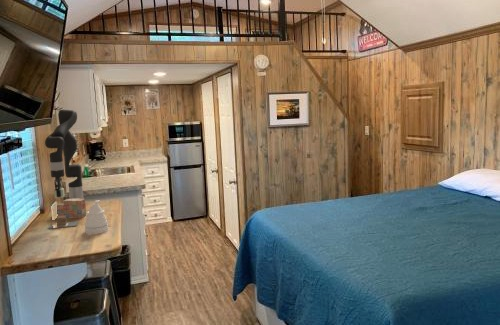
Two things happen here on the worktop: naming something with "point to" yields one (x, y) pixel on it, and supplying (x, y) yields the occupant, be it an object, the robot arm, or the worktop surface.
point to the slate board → (69, 224)
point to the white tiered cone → (96, 220)
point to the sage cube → (61, 193)
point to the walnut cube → (61, 220)
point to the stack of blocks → (72, 208)
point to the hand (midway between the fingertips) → (59, 195)
